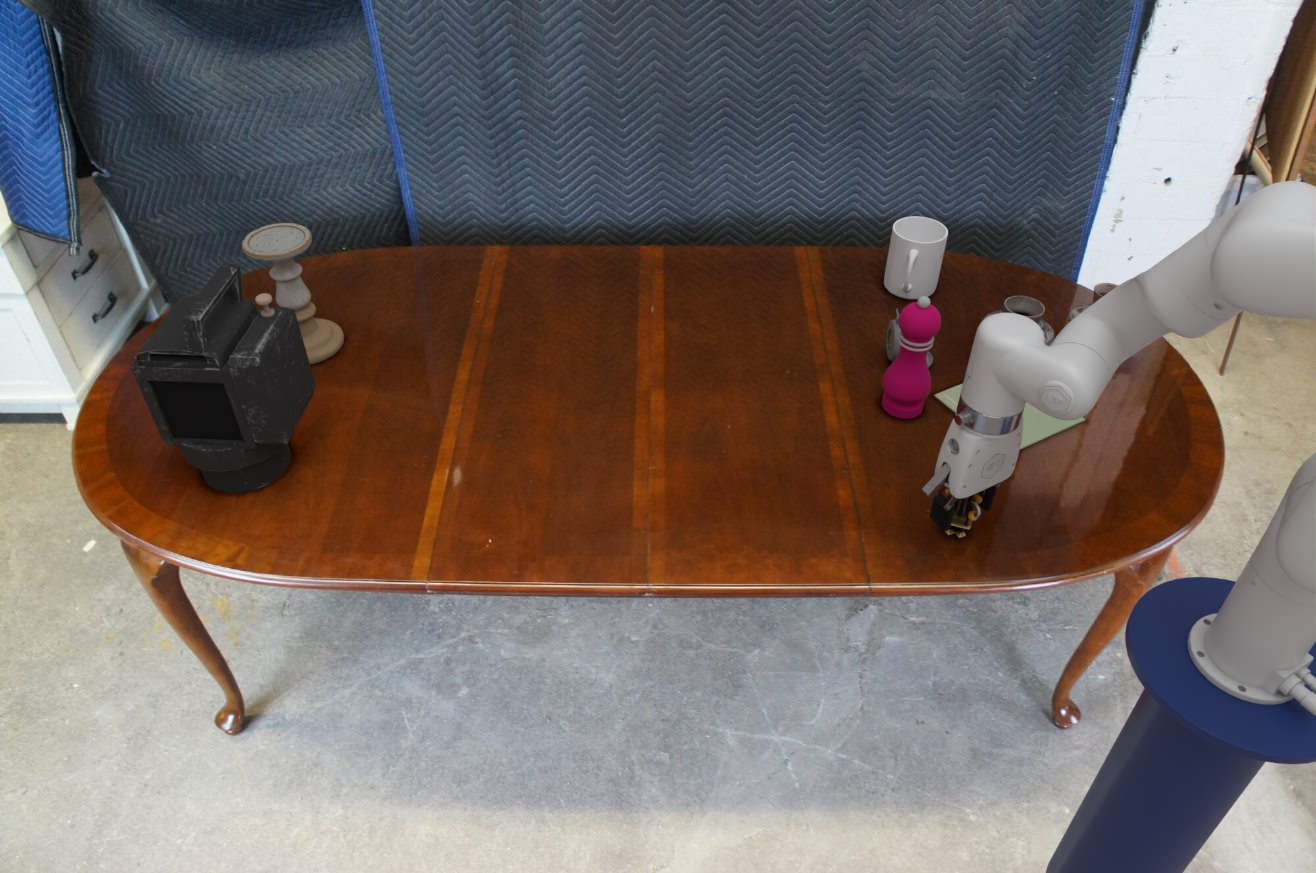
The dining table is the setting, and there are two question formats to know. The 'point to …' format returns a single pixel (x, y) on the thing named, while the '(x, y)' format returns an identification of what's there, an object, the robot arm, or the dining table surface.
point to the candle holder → (294, 284)
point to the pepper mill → (911, 361)
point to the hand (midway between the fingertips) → (960, 513)
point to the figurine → (964, 513)
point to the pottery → (1036, 309)
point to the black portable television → (227, 382)
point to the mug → (915, 257)
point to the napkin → (1033, 419)
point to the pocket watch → (894, 344)
